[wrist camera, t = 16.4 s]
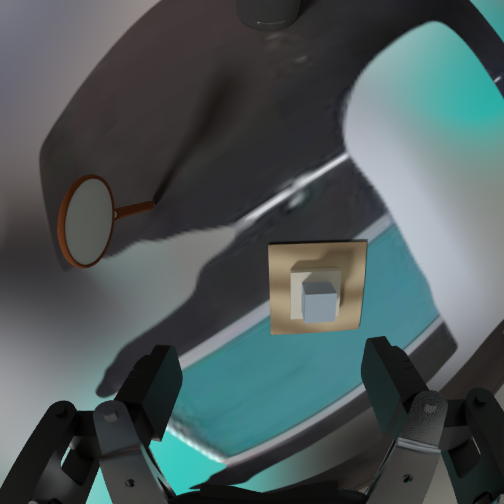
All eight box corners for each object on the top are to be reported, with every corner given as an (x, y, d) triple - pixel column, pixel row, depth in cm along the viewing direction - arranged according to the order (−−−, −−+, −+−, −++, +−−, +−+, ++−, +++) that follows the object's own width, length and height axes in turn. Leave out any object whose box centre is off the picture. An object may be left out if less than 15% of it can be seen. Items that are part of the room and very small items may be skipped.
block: (301, 282, 36) (305, 294, 32) (330, 281, 36) (337, 293, 32) (301, 309, 37) (304, 323, 33) (328, 308, 37) (334, 321, 33)
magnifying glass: (150, 174, 36) (54, 175, 16) (161, 175, 35) (68, 175, 16) (146, 233, 38) (56, 279, 18) (156, 234, 38) (70, 283, 18)
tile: (290, 272, 36) (341, 270, 35) (289, 269, 38) (338, 267, 37) (290, 319, 38) (338, 316, 37) (289, 314, 39) (335, 311, 39)
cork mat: (268, 244, 37) (268, 245, 37) (365, 241, 36) (366, 241, 36) (270, 333, 41) (270, 334, 40) (358, 327, 40) (358, 328, 39)
